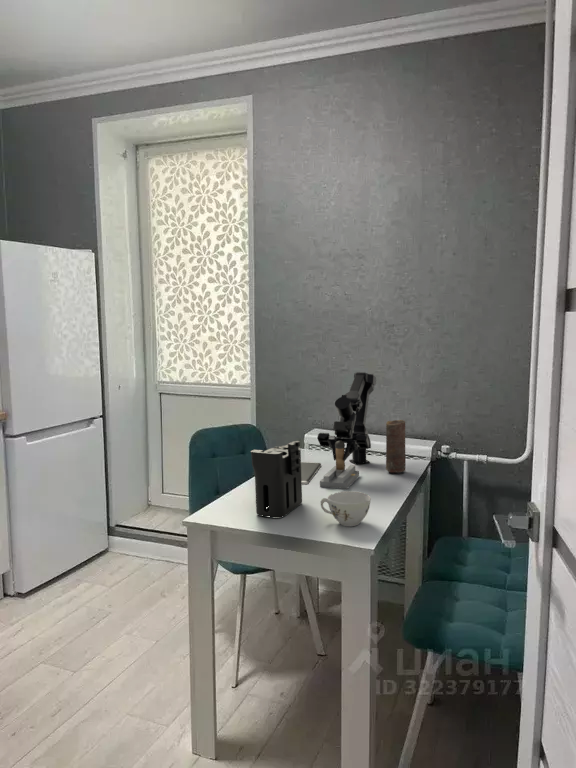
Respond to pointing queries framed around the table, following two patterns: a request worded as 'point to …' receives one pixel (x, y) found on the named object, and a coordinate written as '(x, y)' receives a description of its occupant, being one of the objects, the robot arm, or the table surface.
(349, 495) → the teacup
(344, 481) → the slider console
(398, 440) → the candle
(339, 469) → the lever
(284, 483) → the black machined bracket
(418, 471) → the table surface
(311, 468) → the smartphone
